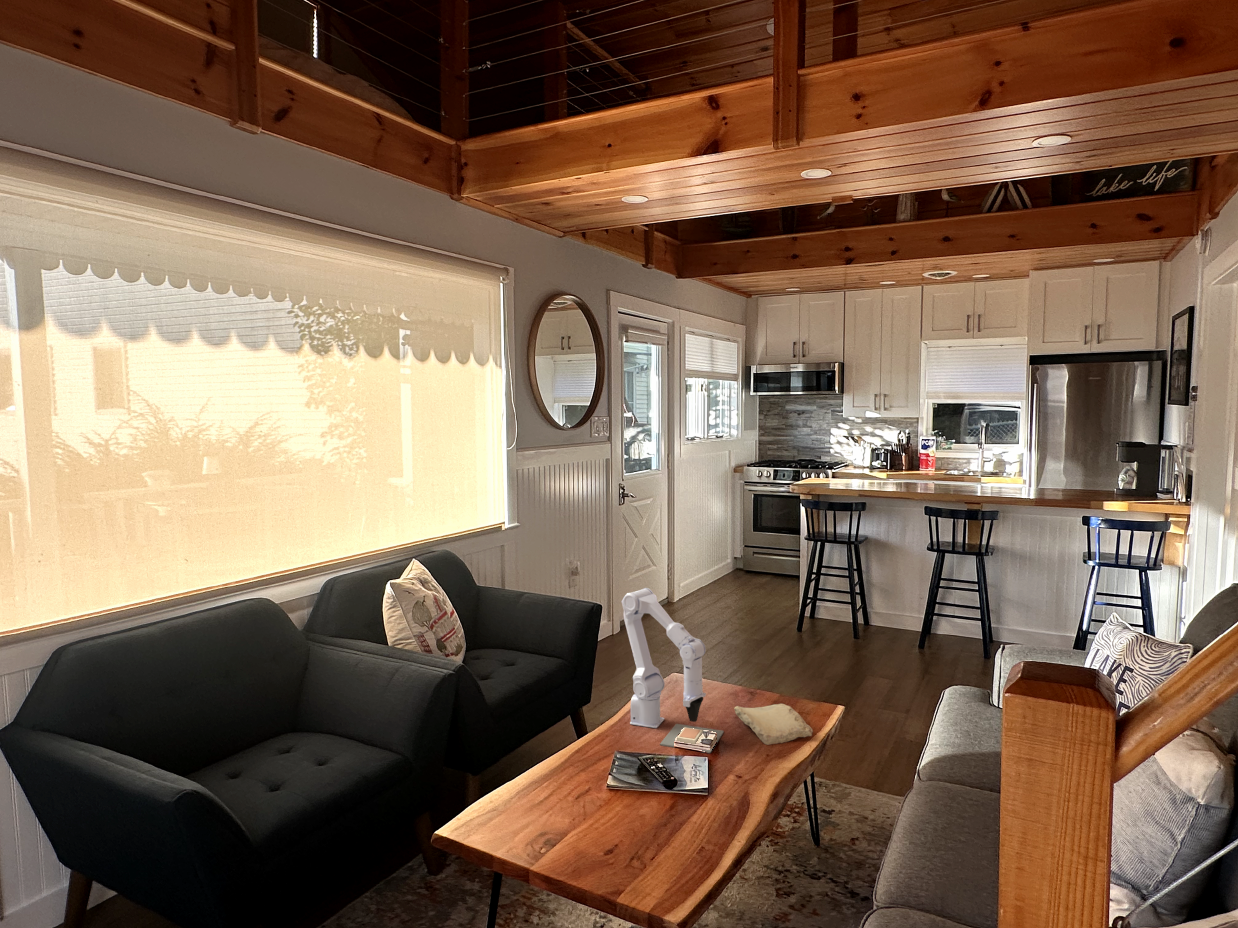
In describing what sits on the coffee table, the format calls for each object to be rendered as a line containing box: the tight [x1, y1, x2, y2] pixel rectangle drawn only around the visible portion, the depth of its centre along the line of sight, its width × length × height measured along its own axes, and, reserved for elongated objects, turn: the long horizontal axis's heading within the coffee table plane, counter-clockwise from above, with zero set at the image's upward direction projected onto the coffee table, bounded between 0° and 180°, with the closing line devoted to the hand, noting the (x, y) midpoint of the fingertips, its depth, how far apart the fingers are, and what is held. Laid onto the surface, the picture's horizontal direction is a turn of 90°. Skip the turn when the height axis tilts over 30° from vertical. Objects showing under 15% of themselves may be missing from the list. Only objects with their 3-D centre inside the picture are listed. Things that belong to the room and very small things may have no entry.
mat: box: [659, 723, 725, 754], centre depth 246 cm, size 16×16×1 cm
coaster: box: [677, 727, 703, 744], centre depth 244 cm, size 6×2×8 cm
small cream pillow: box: [733, 703, 814, 746], centre depth 254 cm, size 24×8×20 cm
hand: (693, 720), depth 247 cm, fingers closed
